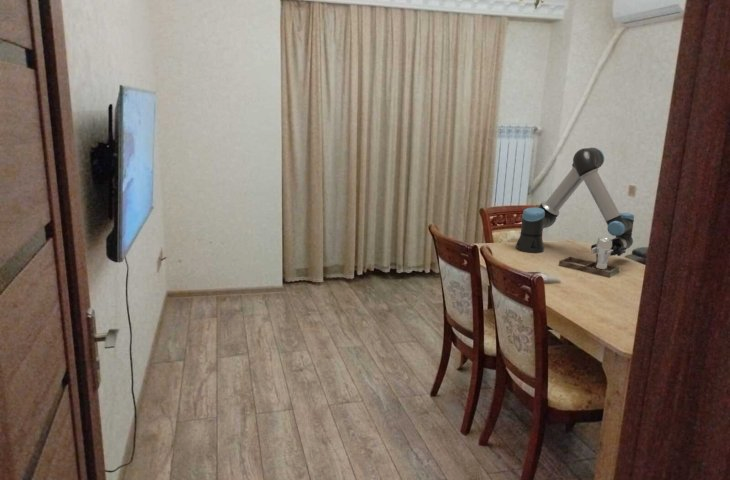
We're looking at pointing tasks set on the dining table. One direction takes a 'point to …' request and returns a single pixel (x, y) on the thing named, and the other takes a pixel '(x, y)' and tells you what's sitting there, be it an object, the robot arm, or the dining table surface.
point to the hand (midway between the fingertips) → (599, 253)
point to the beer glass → (602, 253)
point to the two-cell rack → (587, 266)
